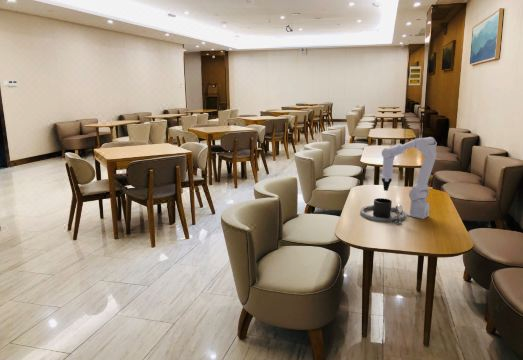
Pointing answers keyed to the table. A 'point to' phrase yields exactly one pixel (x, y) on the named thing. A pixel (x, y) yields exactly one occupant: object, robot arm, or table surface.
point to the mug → (382, 208)
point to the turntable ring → (380, 217)
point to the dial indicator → (398, 214)
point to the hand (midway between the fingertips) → (385, 190)
